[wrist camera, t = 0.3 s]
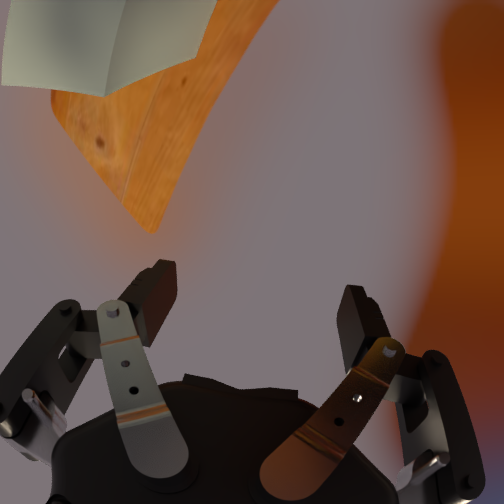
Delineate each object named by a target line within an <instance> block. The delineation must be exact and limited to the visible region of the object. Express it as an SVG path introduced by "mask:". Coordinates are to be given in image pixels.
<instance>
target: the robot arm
mask: <svg viewBox="0 0 504 504" xmlns="http://www.w3.org/2000/svg"><path fill="white" fill-rule="evenodd" d="M176 297H177V274H176V263H175V261H169V260H162V259H159V260H158V261H157V263H156V264H155V265H154V266H153V267H152V268H147V269H145V270H143V271H141V272H140V273H139V274H138V275H137V276H136V278H135V280H133V281H132V282H131V284H130V285H129V286H128V287H127V288H126V290H125V291H124V292H123V293H122V294H121V296H120V297H119V298H118V299H117V300H110V301H106V302H104V303H103V304H101V305H100V306H99V307H98V309H97V310H81V306H80V304H79V303H78V302H77V301H76V300H72V299H68V300H63V301H61V302H59V303H57V304H56V305H55V306H54V307H53V308H52V309H51V310H50V312H49V313H48V314H47V315H46V316H45V317H44V319H43V320H42V321H41V322H40V323H39V325H38V326H37V327H36V328H35V329H34V331H33V332H32V333H31V334H30V336H29V337H28V338H27V339H26V341H25V342H24V343H23V345H22V346H21V347H20V348H19V350H18V351H17V352H16V354H15V355H14V357H13V358H12V359H11V360H10V362H9V363H8V365H7V366H6V367H5V369H4V371H3V372H2V373H1V375H0V436H1V437H2V438H3V439H4V440H5V441H6V442H7V443H9V444H10V445H11V446H12V447H13V448H14V449H16V450H17V451H19V452H20V453H21V454H23V455H24V456H25V457H26V458H28V459H29V460H32V461H39V460H40V461H41V462H43V463H45V464H46V465H48V466H50V467H52V489H51V494H50V498H49V500H48V501H47V503H46V504H466V503H468V502H470V501H472V500H474V499H475V498H477V497H478V496H479V495H480V494H481V493H482V491H483V489H484V487H485V474H484V469H483V464H482V459H481V455H480V451H479V447H478V443H477V439H476V436H475V432H474V429H473V426H472V422H471V419H470V416H469V412H468V409H467V407H466V404H465V401H464V398H463V395H462V392H461V389H460V387H459V384H458V382H457V379H456V377H455V374H454V371H453V369H452V366H451V365H450V362H449V360H448V358H447V357H446V356H445V355H444V354H443V353H441V352H439V351H437V350H428V351H426V352H425V353H424V354H423V356H422V358H421V357H417V356H413V355H410V354H407V353H406V351H405V348H404V346H403V345H402V344H401V343H400V342H399V341H397V340H396V339H393V338H391V335H390V333H389V330H388V327H387V325H386V322H385V320H384V319H383V315H382V313H381V310H380V308H379V305H378V304H377V303H376V302H375V301H374V300H373V299H372V298H370V297H367V295H366V293H365V290H364V288H363V287H362V286H357V285H347V286H346V288H345V290H344V294H343V297H342V300H341V303H340V306H339V309H338V313H337V328H338V333H339V338H340V343H341V349H342V354H343V360H344V366H345V372H346V378H345V379H344V380H343V381H342V382H341V384H340V385H339V386H338V387H337V389H335V391H334V392H333V393H332V394H331V395H330V396H329V398H328V399H327V400H326V401H325V402H324V403H323V404H322V406H321V407H320V408H318V407H316V406H315V405H313V404H311V403H309V402H307V401H305V400H302V399H299V398H298V390H291V389H279V388H271V387H269V388H257V389H244V390H243V389H242V390H241V389H237V388H234V387H231V386H229V385H226V384H224V383H221V382H218V381H216V380H214V379H210V378H205V377H200V376H194V375H190V374H185V375H184V377H183V380H182V381H174V382H167V383H163V384H160V385H157V383H156V380H155V378H154V375H153V373H152V370H151V368H150V365H149V362H148V360H147V357H146V354H145V352H144V349H143V346H146V347H150V346H151V345H152V343H153V341H154V339H155V337H156V335H157V333H158V332H159V330H160V328H161V326H162V324H163V322H164V320H165V319H166V316H167V315H168V313H169V311H170V310H171V308H172V306H173V304H174V302H175V300H176ZM64 346H66V349H65V350H64V352H63V353H62V355H61V356H60V358H59V359H58V357H59V354H60V352H61V350H62V349H63V347H64ZM94 359H102V360H103V365H104V370H105V374H106V379H107V383H108V387H109V391H110V395H111V399H112V402H113V406H114V409H112V410H110V411H108V412H106V413H104V414H102V415H100V416H98V417H96V418H94V419H92V420H90V421H88V422H86V423H84V424H82V425H80V426H78V427H76V428H74V429H72V430H70V431H68V432H66V427H67V421H66V418H65V416H64V415H65V413H66V411H67V409H68V407H69V405H70V403H71V401H72V399H73V398H74V396H75V394H76V392H77V390H78V388H79V386H80V384H81V382H82V381H83V379H84V377H85V375H86V373H87V372H88V370H89V368H90V366H91V364H92V363H93V361H94ZM382 399H384V400H388V401H392V402H395V405H396V411H397V416H398V422H399V428H400V435H401V442H402V449H403V458H404V466H405V467H404V468H403V469H402V470H401V471H400V472H399V474H398V476H397V483H396V486H395V487H394V485H393V484H392V483H391V481H390V480H389V479H388V478H387V477H386V476H385V475H383V474H382V473H381V472H380V471H379V470H378V469H377V468H376V467H375V466H374V465H373V464H372V463H371V462H370V461H369V460H368V459H367V458H366V457H365V456H364V454H363V453H361V451H359V449H358V448H357V447H356V446H355V445H354V444H353V443H354V442H355V441H356V439H357V438H358V436H359V435H360V433H361V432H362V430H363V429H364V428H365V426H366V425H367V423H368V421H369V420H370V419H371V417H372V415H373V414H374V412H375V411H376V409H377V407H378V406H379V404H380V403H381V401H382ZM426 400H427V401H426ZM427 403H428V405H427ZM428 407H429V409H428Z"/></svg>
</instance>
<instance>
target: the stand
mask: <svg viewBox="0 0 504 504" xmlns="http://www.w3.org/2000/svg"><path fill="white" fill-rule="evenodd" d="M216 3H217V0H12V2H11V6H10V11H9V15H8V21H7V27H6V33H5V40H4V50H3V60H2V77H1V85H9V86H10V85H11V86H26V87H38V88H47V89H56V90H64V91H71V92H77V93H84V94H90V95H95V96H101V97H105V96H107V95H109V94H111V93H113V92H115V91H117V90H119V89H121V88H123V87H125V86H127V85H129V84H131V83H133V82H135V81H138V80H140V79H142V78H144V77H147V76H149V75H151V74H154V73H156V72H158V71H161V70H163V69H166V68H168V67H171V66H174V65H176V64H179V63H182V62H185V61H188V60H190V59H193V58H196V55H197V52H198V49H199V46H200V44H201V41H202V38H203V35H204V33H205V30H206V27H207V25H208V22H209V20H210V17H211V15H212V12H213V10H214V7H215V5H216Z"/></svg>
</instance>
